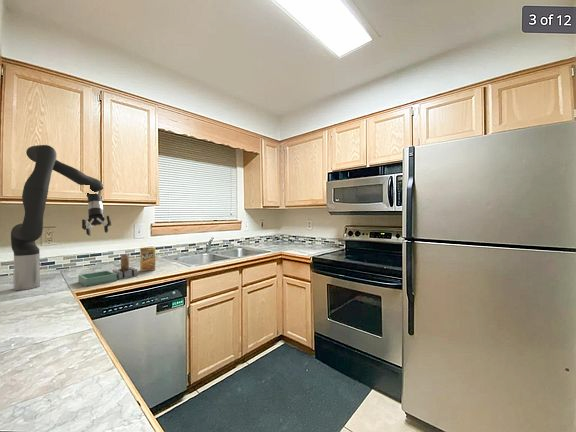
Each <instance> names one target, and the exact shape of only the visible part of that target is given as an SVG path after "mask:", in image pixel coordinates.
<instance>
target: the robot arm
mask: <svg viewBox="0 0 576 432" xmlns="http://www.w3.org/2000/svg"><path fill="white" fill-rule="evenodd" d="M25 154H26V156H27V158H28V159H29V160H31V161H32V162H34V163H35V164H34V168H33V170H32V172H31V174H30V175H29V176H28V178H27V179H26V180H25V183H24V185H23V190H22V194H21V200H22V205H23V208H24V217H23V220H22V223H19V224H15V225H14V226H13V227H12V229H11V231H10V245H11V250H12V252H13V272H12V273H13V277H12V278H13V290H14V291H24V290H30V289H34V288H39V287H40V286H41V270H40V268H41V266H40V265H41V262H40V260H41V259H40V256H41V255H40V248H39V247H38V245H36V244H37V243H36V241H37V240H39V239H40V238H41V236H42V234H43V231H44V230H43V229H44V214H45V210H46V203H47V199H48V195H49V194H48V193H49V188H50V184H51V183H50V181H51V177H52V172H53V171H54V172H57V173H58V174H59V175H61V176H64V177H65V178H67V179H69V180H70V181H72V182H74V183H75V184H77V185H79V186H84V185H90V189H91V190H92V191H94V192H96V193H95V194H89V193H87V195H86V198H87V212H88V213H87V214H88V219H82V220H81V228H82V230H84V231H85V230H86V231H85V233H86V235H87V236H91V229H92V228H93V227H94V226H101V225H103V228H104V233H107V234H108V232H109V227H111V226H112V222H111V216H109V215H107V216H105V215H104V205H103V198H102V195H101V194H99V193H98V192H100V191H102V190H104V188H103V185H104V183H103V182H102V181H101V180H99V179H97V178H94V177H92V176H89V175H86V174H85V173H83V172H82V171H80V170H79V169H77V168H75V167H73V166H71V165H68V164H65V163H64V162H61V161H59V160H58V159H57V152H56V149H55V148H54V147H52V146H51V145H48V144H38V145H32V146H29V147H28V148H27V149H26V153H25ZM102 183H103V184H102ZM105 220H106V221H107V222H104V221H105ZM87 223H88V224H87Z"/></svg>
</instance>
